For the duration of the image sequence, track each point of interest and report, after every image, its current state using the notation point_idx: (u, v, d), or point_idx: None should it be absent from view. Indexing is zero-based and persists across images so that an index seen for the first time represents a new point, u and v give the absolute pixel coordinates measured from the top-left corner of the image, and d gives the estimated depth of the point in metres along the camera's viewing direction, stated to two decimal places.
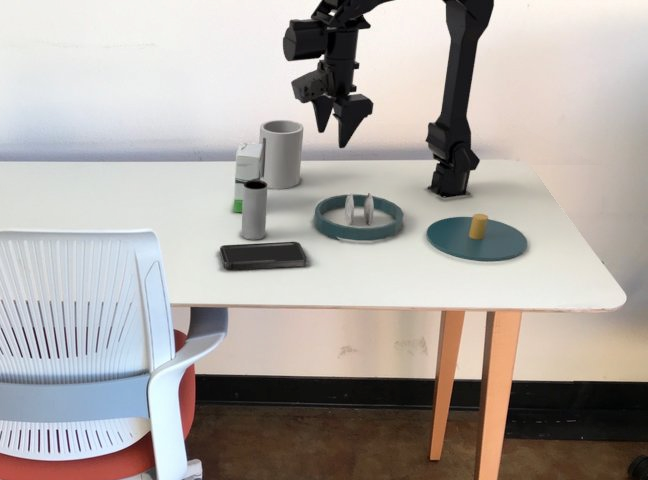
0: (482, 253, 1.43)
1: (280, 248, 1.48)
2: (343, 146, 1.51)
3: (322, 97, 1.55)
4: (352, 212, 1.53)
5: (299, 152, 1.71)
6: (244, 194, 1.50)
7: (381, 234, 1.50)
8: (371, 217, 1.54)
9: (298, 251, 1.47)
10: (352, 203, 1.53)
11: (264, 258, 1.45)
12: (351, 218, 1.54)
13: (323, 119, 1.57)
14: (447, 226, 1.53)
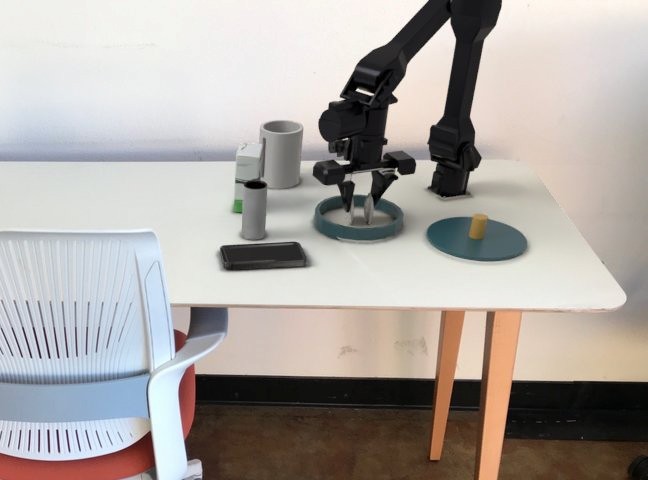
0: (482, 253, 1.43)
1: (280, 248, 1.48)
2: (345, 210, 1.55)
3: (377, 174, 1.53)
4: (352, 212, 1.53)
5: (299, 152, 1.71)
6: (244, 194, 1.50)
7: (381, 234, 1.50)
8: (371, 217, 1.54)
9: (298, 251, 1.47)
10: (352, 203, 1.53)
11: (264, 258, 1.45)
12: (351, 218, 1.54)
13: (372, 196, 1.55)
14: (447, 226, 1.53)
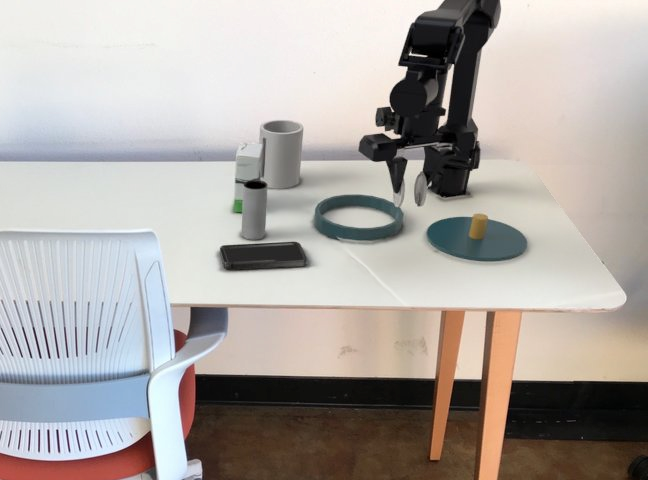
0: (482, 253, 1.43)
1: (280, 248, 1.48)
2: (395, 191, 1.38)
3: (431, 150, 1.36)
4: (403, 193, 1.36)
5: (299, 152, 1.71)
6: (244, 194, 1.50)
7: (381, 234, 1.50)
8: (424, 198, 1.37)
9: (298, 251, 1.47)
10: (403, 183, 1.36)
11: (264, 258, 1.45)
12: (401, 200, 1.37)
13: (425, 175, 1.38)
14: (447, 226, 1.53)
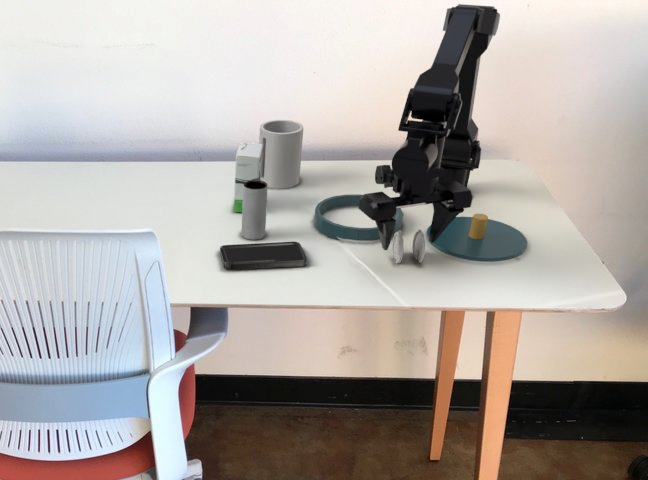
0: (482, 253, 1.43)
1: (280, 248, 1.48)
2: (384, 248, 1.41)
3: (440, 206, 1.40)
4: (401, 251, 1.40)
5: (299, 152, 1.71)
6: (244, 194, 1.50)
7: None
8: (422, 256, 1.41)
9: (298, 251, 1.47)
10: (401, 241, 1.40)
11: (264, 258, 1.45)
12: (400, 257, 1.41)
13: (434, 229, 1.42)
14: (447, 226, 1.53)
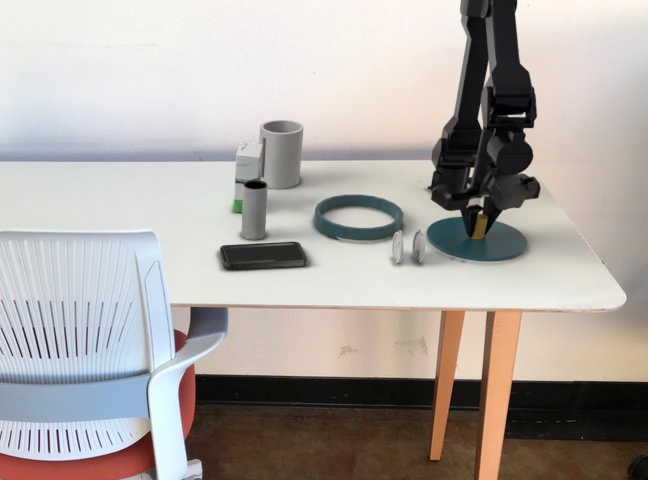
0: (482, 253, 1.43)
1: (280, 248, 1.48)
2: None
3: None
4: (401, 251, 1.40)
5: (299, 152, 1.71)
6: (244, 194, 1.50)
7: (381, 234, 1.50)
8: (422, 256, 1.41)
9: (298, 251, 1.47)
10: (401, 241, 1.40)
11: (264, 258, 1.45)
12: (400, 257, 1.41)
13: None
14: (447, 226, 1.53)
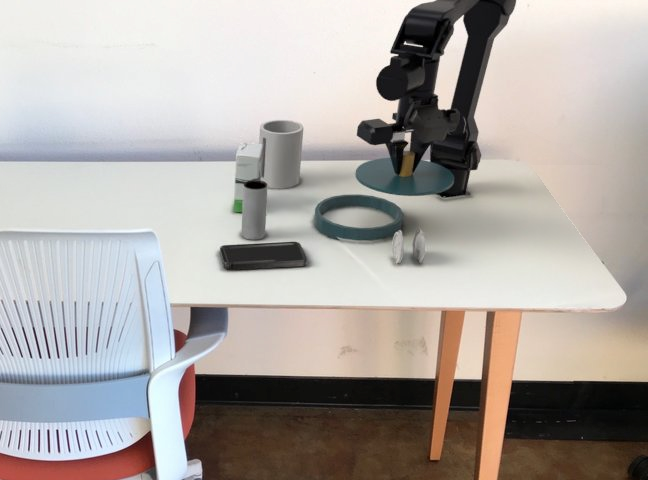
0: (408, 189, 1.43)
1: (280, 248, 1.48)
2: None
3: None
4: (401, 251, 1.40)
5: (299, 152, 1.71)
6: (244, 194, 1.50)
7: (381, 234, 1.50)
8: (422, 256, 1.41)
9: (298, 251, 1.47)
10: (401, 241, 1.40)
11: (264, 258, 1.45)
12: (400, 257, 1.41)
13: None
14: (376, 166, 1.52)
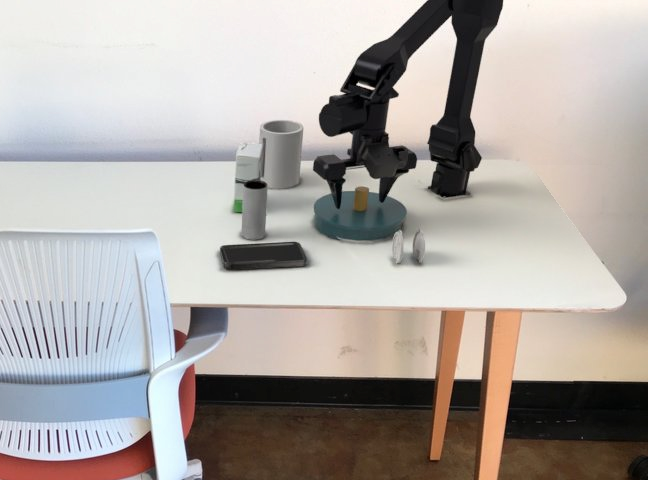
0: (361, 223, 1.50)
1: (280, 248, 1.48)
2: None
3: None
4: (401, 251, 1.40)
5: (299, 152, 1.71)
6: (244, 194, 1.50)
7: (381, 234, 1.50)
8: (422, 256, 1.41)
9: (298, 251, 1.47)
10: (402, 241, 1.40)
11: (264, 258, 1.45)
12: (400, 257, 1.41)
13: None
14: None
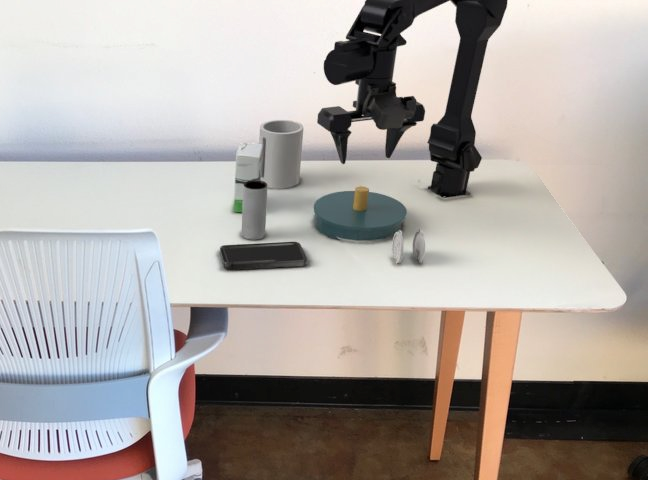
0: (361, 223, 1.50)
1: (280, 248, 1.48)
2: None
3: None
4: (401, 251, 1.40)
5: (299, 152, 1.71)
6: (244, 194, 1.50)
7: (381, 234, 1.50)
8: (422, 256, 1.41)
9: (298, 251, 1.47)
10: (401, 241, 1.40)
11: (264, 258, 1.45)
12: (400, 257, 1.41)
13: None
14: (334, 199, 1.60)
